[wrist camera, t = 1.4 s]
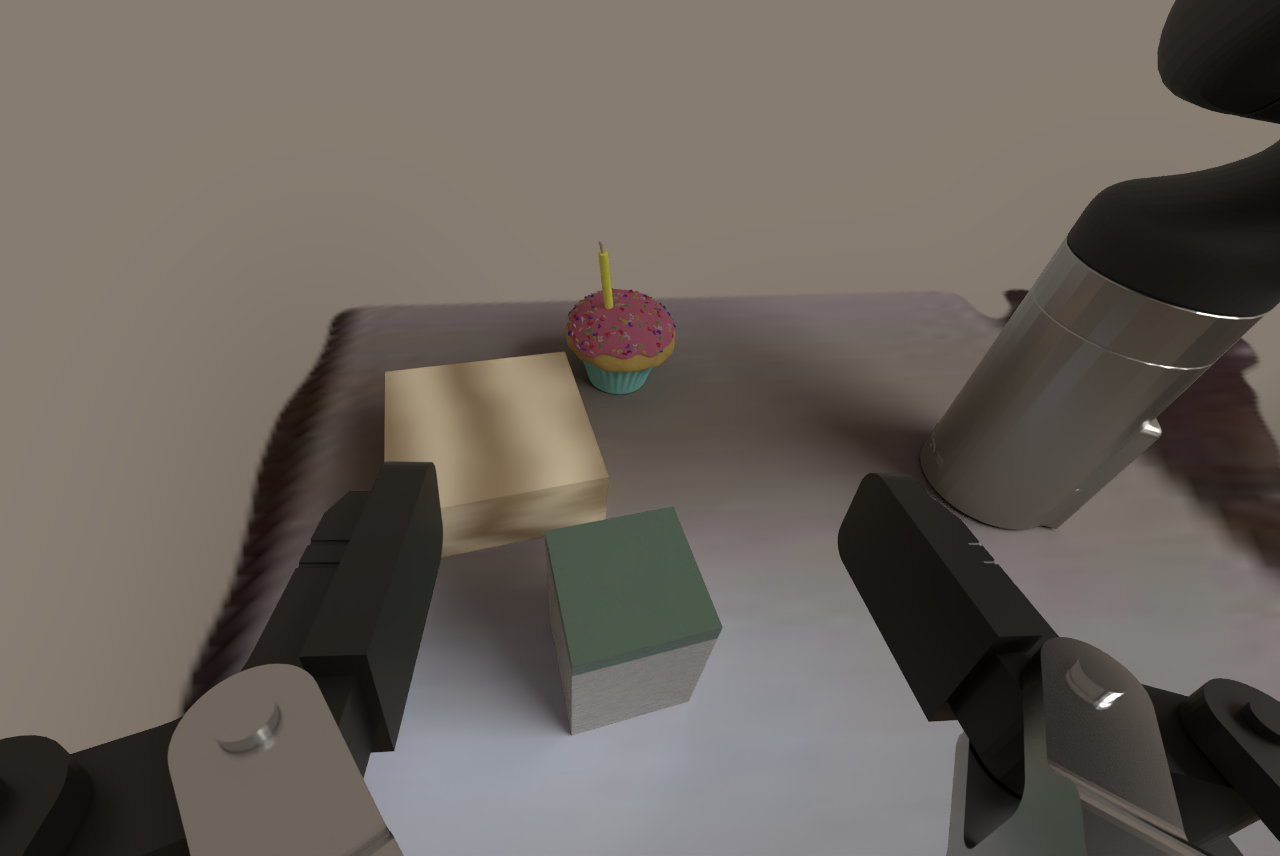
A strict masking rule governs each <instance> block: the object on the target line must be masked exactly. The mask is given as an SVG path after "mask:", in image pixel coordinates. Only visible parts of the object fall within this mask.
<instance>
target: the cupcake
mask: <svg viewBox="0 0 1280 856" xmlns="http://www.w3.org/2000/svg"><path fill="white" fill-rule="evenodd" d="M599 244H600V249H601V251H600V252H599V263H600V271H601V280H602V289H603V291H598V292H597V293H594V294H592V295H588V297H587V296H586V297H585V299H584V300H580V301H581V302H580V301H579V304H575V305H574V306H575V307H574V308H573V309H572V311H570V312H569V313H570V314H568V319H567V323H566V341H567V345H568V347H569V348H570V349H571V350H572V351H574V353H575V354H576V355H577V357H578V358H579V359H580V360H581V361H583V363H584V365H585V368H586V371H587V374H588V377H589V380H590V381H591V383H592V384H593V385H594V386H595V387H596V388H598V389H600V390H602V391H604V392H607V393H611V394H627V393H631V392H634V391H636V390H638V389H639V388H640V387H641V386H642V385H643V384H644V382H645V380H646V378H647V377H648V375H649V373H650V371H651V370H652V368H653V367H657V366H659V365H660V364H661V363H663V362H664V361H665V360H666V359H667V358H668V357H669V356H670V355H671V354H672V353H673V350H674V345H675V330H674V329H675V328H674V327H676V326H675V325H674V323H673V321H672V320H673V319H672V318H671V317H670V313H669V312H667V311H666V308H665V306H663V307H662V304H661V303H660V304H659V303H658V302H656V301H655V300H653V299H652V297H649V296H648V295H647V294H645V295H644V294H641V293H639V292H638V291H635V292H634V291H632V290H629V291H628V290H619V289H613V288H611V277H610V268H609V257H608V252H607V251H605V250H603V245H602V243H601V242H599Z"/></svg>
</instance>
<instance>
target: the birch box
mask: <svg viewBox="0 0 1280 856" xmlns="http://www.w3.org/2000/svg"><path fill="white" fill-rule="evenodd" d="M386 461H405V462H433V463H434V465H435V468H436V474H437V482H438V490H439V499H440V507H441V515H442V523H443V546H442V555H441V558H443V557H448V556H452V555H457V554H462V553H467V552H472V551H476V550H481V549H486V548H491V547H495V546H500V545H505V544H510V543H515V542H519V541H524V540H529V539H534V538H538V537H543V536H545V531H546V530H552V529H557V528H562V527H568V526H573V525H578V524H584V523H589V522H594V521H600V520H605V518H606V506H607V494H608V483H609V476H608V473H607V470H606V467H605V464H604V461H603V459H602V456H601V453H600V450H599V447H598V444H597V442H596V439H595V436H594V433H593V430H592V427H591V424H590V422H589V419H588V416H587V413H586V410H585V407H584V405H583V402H582V399H581V396H580V393H579V390H578V387H577V385H576V382H575V379H574V376H573V373H572V370H571V368H570V365H569V362H568V359H567V356H566V353H565V352H556V353H547V354H539V355H530V356H521V357H512V358H503V359H495V360H486V361H477V362H468V363H459V364H451V365H442V366H433V367H424V368H416V369H407V370H398V371H389V372H385V452H384V463H385V462H386Z"/></svg>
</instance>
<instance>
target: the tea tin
mask: <svg viewBox="0 0 1280 856" xmlns="http://www.w3.org/2000/svg"><path fill="white" fill-rule="evenodd" d="M545 541H546V559H547V577H548V595H549V613H550V622H551V628H552V633H553V638H554V644H555V649H556V655H557V660H558V665H559V671H560V676H561V682H562V687H563V692H564V698H565V703H566V709H567V714H568V719H569V725H570V730H571V736H572V735H575V734H579V733H582V732H586V731H589V730H592V729H596V728H599V727H603V726H606V725H610V724H613V723H616V722H620V721H623V720H627V719H630V718H634V717H637V716H640V715H644V714H647V713H651V712H654V711H658V710H661V709H664V708H668V707H671V706H675V705H678V704H682V703H685V702H688V701H689V700H690V698H691V695H692V693H693V691H694V689H695V687H696V684H697V682H698V680H699V678H700V676H701V673H702V671H703V669H704V667H705V665H706V663H707V660H708V658H709V656H710V654H711V652H712V649H713V647H714V645H715V643H716V641H717V638H718V636H719V634H720V632H721V630H722V625H721V622H720V620H719V618H718V615H717V613H716V610H715V608H714V605H713V603H712V600H711V598H710V595H709V593H708V591H707V588H706V586H705V583H704V581H703V578H702V576H701V573H700V571H699V568H698V566H697V563H696V561H695V559H694V556H693V554H692V551H691V549H690V546H689V544H688V541H687V539H686V536H685V534H684V532H683V529H682V527H681V524H680V522H679V519H678V517H677V514H676V512H675V509H674V507H669V508H663V509H658V510H653V511H647V512H642V513H637V514H631V515H626V516H621V517H616V518H610V519H605V520H600V521H594V522H589V523H584V524H578V525H573V526H568V527H562V528H557V529H552V530H546V531H545Z"/></svg>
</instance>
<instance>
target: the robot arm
mask: <svg viewBox="0 0 1280 856" xmlns="http://www.w3.org/2000/svg"><path fill="white" fill-rule="evenodd" d="M1158 70H1159V73H1160V76H1161V78H1162V82H1163V83H1164V85H1165V86H1166V87H1167V88H1168V89H1169V90H1170V91H1171V92H1172V93H1173V94H1174V95H1176V96H1178V97H1179V98H1181V99H1183V100H1185V101H1188V102H1190V103H1193V104H1195V105H1198V106H1200V107H1202V108H1205V109H1208V110H1211V111H1215V112H1219V113H1224V114H1232V115H1237V116H1240V117H1245V118H1251V119H1256V120H1262V121H1267V122H1272V123H1278V124H1280V0H1176V1H1175V3H1174V5H1173V6H1172V8H1171V11H1170V13H1169V15H1168V17H1167V20H1166V22H1165V25H1164V28H1163V30H1162V34H1161V38H1160V43H1159V47H1158ZM1279 302H1280V140H1279V141H1277V142H1276V143H1275V144H1273V145H1272V146H1270V147H1268V148H1267V149H1265V150H1263V151H1262V152H1259V153H1257V154H1255V155H1252V156H1250V157H1248V158H1244V159H1241V160H1239V161H1236V162H1233V163H1229V164H1226V165H1223V166H1219V167H1215V168H1211V169H1206V170H1202V171H1197V172H1192V173H1186V174H1179V175H1171V176H1161V177H1152V178H1142V179H1133V180H1128V181H1124V182H1120V183H1117V184H1114V185H1112V186H1110V187H1107V188H1106V189H1104V190H1103V191H1101V192H1100V193H1099V194H1098V195H1097V196H1096V197H1095V198H1094V199H1093V200H1092V201H1091V202H1090V203H1089V205H1088V206H1087V207H1086V208H1085V210H1084V211H1083V213H1082V214H1081V216H1080V217H1079V219H1078V220H1077V222H1076V223H1075V225H1074V226H1073V227H1072V229H1071V230H1070V232H1069V233H1068V236H1067V237H1066V238H1065V239H1064V241H1063V242H1062V244H1061V245H1060V247H1059V248H1058V250H1057V251H1056V253H1055V254H1054V255H1053V257H1052V258H1051V260H1050V261H1049V263H1048V264H1047V266H1046V267H1045V269H1044V270H1043V272H1042V273H1041V275H1040V276H1039V277H1038V279H1037V280H1036V282H1035V283H1034V285H1033V286H1032V288H1031V289H1030V291H1029V292H1028V294H1027V295H1026V297H1025V298H1024V299H1023V301H1022V302H1021V304H1020V305H1019V307H1018V308H1017V310H1016V311H1015V313H1014V314H1013V315H1012V317H1011V318H1010V320H1009V321H1008V323H1007V324H1006V326H1005V327H1004V329H1003V330H1002V332H1001V333H1000V334H999V336H998V337H997V339H996V340H995V342H994V343H993V345H992V346H991V348H990V349H989V350H988V352H987V353H986V355H985V356H984V358H983V359H982V361H981V362H980V364H979V365H978V366H977V368H976V369H975V371H974V372H973V374H972V375H971V377H970V378H969V380H968V381H967V383H966V384H965V385H964V387H963V388H962V390H961V391H960V393H959V394H958V396H957V397H956V399H955V400H954V401H953V403H952V404H951V406H950V407H949V409H948V410H947V412H946V413H945V415H944V416H943V418H942V419H941V420H940V422H939V423H938V424H937V425H936V427H935V428H934V430H933V431H932V433H931V435H930V437H929V438H928V439H927V441H926V442H925V444H924V446H923V448H922V450H921V455H920V461H921V466H922V470H923V472H924V474H925V476H926V478H927V480H928V481H929V482H930V484H931V485H932V486H933V488H934V489H935V490H936V491H937V492H938V493H939V494H940V495H941V496H942V497H943V498H944V499H945V500H946V501H947V502H949V503H950V504H951V505H953V506H954V507H955V508H957V509H958V510H960V511H962V512H963V513H965V514H967V515H968V516H970V517H972V518H974V519H977V520H979V521H981V522H983V523H986V524H989V525H993V526H996V527H999V528H1006V529H1013V530H1019V529H1029V528H1033V527H1036V526H1041V525H1042V526H1048V527H1051V528H1055V529H1057V528H1058V527H1060V526H1061V525H1062V524H1063V523H1064V522H1065V521H1066V520H1067V519H1069V518H1070V517H1071V516H1072V515H1073V514H1074V513H1075V512H1076V511H1078V510H1079V509H1080V508H1081V507H1082V506H1083V505H1084V504H1085V503H1087V502H1088V501H1089V500H1090V499H1091V498H1092V497H1093V496H1094V495H1096V494H1097V493H1098V492H1099V491H1100V490H1101V489H1102V488H1103V487H1104V486H1106V485H1107V484H1108V483H1109V482H1110V481H1111V480H1112V479H1113V478H1115V477H1116V476H1117V475H1118V474H1119V473H1120V472H1121V471H1122V470H1124V469H1125V468H1126V467H1127V466H1128V465H1129V464H1130V463H1131V462H1133V461H1134V460H1135V459H1136V458H1137V457H1138V456H1139V455H1140V454H1142V453H1143V452H1144V451H1145V450H1146V449H1147V448H1148V447H1149V446H1150V445H1152V444H1153V443H1154V442H1155V441H1156V440H1157V439H1158V438H1159V437H1160V435H1161V428H1160V425H1159V424H1158V422H1157V420H1156V417H1157V416H1158V415H1159V414H1160V413H1161V412H1162V411H1163V410H1164V409H1166V408H1167V407H1168V406H1169V405H1170V404H1171V403H1172V402H1173V401H1174V400H1175V399H1176V398H1177V397H1178V396H1179V395H1180V394H1181V393H1183V392H1184V391H1185V390H1186V389H1187V388H1188V387H1189V386H1190V385H1191V384H1192V383H1193V382H1194V381H1195V380H1196V379H1197V378H1198V377H1200V376H1201V375H1202V374H1203V373H1204V372H1205V371H1206V370H1207V369H1208V368H1209V367H1210V366H1211V365H1212V364H1213V363H1214V362H1215V361H1216V360H1217V359H1218V358H1219V357H1221V356H1222V355H1223V354H1224V353H1225V352H1226V351H1227V350H1228V349H1229V348H1230V347H1231V346H1232V345H1233V344H1235V343H1236V342H1237V341H1238V340H1239V339H1240V338H1241V337H1242V336H1243V335H1244V334H1245V333H1246V332H1247V331H1248V330H1249V329H1251V328H1252V327H1253V326H1254V325H1255V324H1256V323H1257V322H1258V321H1259V320H1260V319H1261V318H1262V317H1263V316H1264V315H1266V314H1267V313H1268V312H1269V311H1271V310H1272V309H1273V308H1274V307H1275V306H1276V305H1277V304H1278V303H1279ZM442 546H443V523H442V515H441V507H440V499H439V490H438V482H437V474H436V468H435V465H434V463H433V462H405V461H386V462H385V463H384V464H383V466H382V468H381V470H380V473H379V475H378V477H377V479H376V482H375V484H374V486H373V489H372V491H371V492H368V491H349V492H348V493H347V494H346V495H345V496H344V497H343V498H341V499H340V500H339V501H338V502H337V503H336V504H335V505H333V506H332V507H331V508H330V509H329V510H328V511H327V512H325V513H324V515H323V517H322V519H321V521H320V523H319V525H318V527H317V529H316V531H315V533H314V534H313V536H312V538H311V544H310V545H308V546H307V548H306V550H305V552H304V554H303V556H302V558H301V560H300V561H299V568H296V569H295V571H294V573H293V575H292V577H291V579H290V581H289V583H288V585H287V587H286V589H285V590H284V592H283V594H282V596H281V598H280V600H279V602H278V604H277V606H276V608H275V610H274V612H273V614H272V616H271V617H270V619H269V621H268V623H267V625H266V627H265V629H264V631H263V633H262V635H261V637H260V639H259V641H258V643H257V645H256V646H255V648H254V650H253V652H252V654H251V656H250V658H249V659H248V661H247V663H246V664H245V666H244V667H243V669H242V670H241V671H240V673H237V674H235V675H233V676H231V677H229V678H227V679H226V680H224V681H222V682H220V683H219V684H217V685H216V686H214V687H213V688H212V689H210V690H209V691H208V692H206V693H205V694H204V695H203V696H202V697H201V698H200V699H198V700H197V701H196V702H195V703H194V705H193V706H192V707H191V708H190V709H189V710H188V711H187V712H186V714H185V715H184V716H182V717H180V718H178V719H176V720H174V721H172V722H169V723H166V724H164V725H161V726H158V727H155V728H152V729H149V730H146V731H143V732H140V733H136V734H133V735H130V736H127V737H124V738H121V739H117V740H114V741H111V742H108V743H105V744H101V745H98V746H95V747H92V748H89V749H86V750H83V751H79V752H76V753H73V754H69V753H68V752H67V751H66V750H65V749H64V748H63V747H62V746H61V745H60V744H58V743H57V742H56V741H54V740H52V739H49V738H47V737H42V736H35V735H33V736H32V735H30V736H17V737H10V738H5V739H2V740H0V856H403V854H402V852H401V850H400V848H399V846H398V844H397V842H396V840H395V838H394V837H393V835H392V833H391V832H390V831H389V830H388V828H387V826H386V824H385V822H384V821H383V819H382V817H381V815H380V813H379V810H378V808H377V806H376V804H375V802H374V800H373V798H372V796H371V794H370V792H369V790H368V788H367V786H366V784H365V782H364V779H363V778H364V774H365V771H366V767H367V764H368V760H369V756H370V753H371V752H387V751H394V750H395V745H396V741H397V737H398V733H399V729H400V725H401V721H402V717H403V713H404V709H405V704H406V700H407V696H408V692H409V688H410V684H411V680H412V676H413V672H414V667H415V663H416V659H417V655H418V651H419V647H420V643H421V639H422V635H423V631H424V626H425V622H426V618H427V614H428V610H429V606H430V602H431V598H432V594H433V589H434V585H435V581H436V577H437V573H438V569H439V565H440V560H441V555H442ZM838 550H839V554H840V557H841V560H842V562H843V564H844V566H845V567H846V569H847V571H848V573H849V575H850V577H851V578H852V580H853V582H854V584H855V586H856V588H857V590H858V591H859V593H860V595H861V597H862V599H863V601H864V603H865V604H866V606H867V608H868V610H869V612H870V614H871V616H872V617H873V619H874V621H875V623H876V625H877V627H878V629H879V630H880V632H881V634H882V636H883V638H884V640H885V642H886V643H887V645H888V647H889V649H890V651H891V653H892V654H893V656H894V658H895V660H896V662H897V664H898V666H899V667H900V669H901V671H902V673H903V675H904V677H905V679H906V680H907V682H908V684H909V686H910V688H911V690H912V692H913V693H914V695H915V697H916V699H917V701H918V703H919V705H920V706H921V708H922V710H923V712H924V714H925V716H926V718H927V719H928V721H929V722H932V721H948V720H958V721H959V723H960V725H961V726H962V728H963V730H964V732H963V733H962V734H961V735H960V736H959V738H958V740H957V744H956V752H955V765H954V777H953V790H952V802H951V814H950V827H949V839H948V849H947V855H946V856H1243V855H1242V853H1241V852H1240V851H1239V849H1238V848H1237V847H1236V846H1235V844H1234V843H1233V842H1232V841H1231V839H1230V838H1229V837H1228V836H1230V835H1232V834H1234V833H1236V832H1237V831H1239V830H1241V829H1243V828H1245V827H1247V826H1249V825H1251V824H1252V823H1254V822H1256V821H1258V820H1260V819H1261V820H1262V822H1263V823H1264V824H1265V825H1266V826H1267V827H1268V829H1269V830H1270V831H1271V832H1272V833H1273V834H1274V836H1275V837H1276V838H1277V839H1278V840H1279V841H1280V702H1279V701H1277V700H1275V699H1274V698H1272V697H1270V696H1269V695H1267V694H1265V693H1263V692H1261V691H1259V690H1258V689H1255V688H1253V687H1251V686H1249V685H1246V684H1243V683H1240V682H1238V681H1234V680H1230V679H1222V678H1218V679H1212V680H1210V681H1208V682H1207V683H1205V684H1204V685H1203V686H1202V687H1200V688H1199V689H1198V690H1196V691H1195V692H1194V693H1193V694H1191V695H1190V696H1189V697H1188V696H1184V695H1181V694H1177V693H1173V692H1169V691H1165V690H1162V689H1158V688H1154V687H1150V686H1147V685H1143V684H1141V683H1140V682H1139V681H1138V680H1137V679H1136V678H1135V676H1134V675H1133V674H1131V673H1130V672H1129V671H1128V670H1127V669H1126V668H1125V667H1124V666H1123V665H1121V664H1120V663H1119V662H1118V661H1116V660H1115V659H1114V658H1112V657H1111V656H1109V655H1108V654H1106V653H1105V652H1103V651H1101V650H1100V649H1098V648H1096V647H1094V646H1092V645H1090V644H1087V643H1085V642H1082V641H1079V640H1076V639H1072V638H1066V637H1059V636H1058V635H1057V634H1056V633H1055V631H1054V630H1053V629H1052V628H1051V627H1050V625H1049V624H1048V623H1047V622H1046V621H1045V619H1044V618H1043V617H1042V616H1041V615H1040V614H1039V612H1038V611H1037V610H1036V609H1035V608H1034V606H1033V605H1032V604H1031V603H1030V602H1029V600H1028V599H1027V598H1026V597H1025V596H1024V594H1023V593H1022V592H1021V591H1020V590H1019V588H1018V587H1017V586H1016V585H1015V584H1014V583H1013V581H1012V580H1011V579H1010V578H1009V577H1008V575H1007V574H1006V573H1005V572H1004V571H1003V569H1002V568H1001V567H1000V566H999V565H998V564H994V559H993V557H992V556H991V555H990V554H989V553H988V552H987V550H986V549H985V548H984V547H983V546H979V541H978V540H977V538H976V537H975V536H974V535H973V534H972V532H971V531H970V530H969V529H968V528H967V526H966V525H965V524H964V523H963V522H962V520H961V519H959V518H958V517H957V516H955V515H954V514H953V513H951V512H950V511H949V510H947V509H946V508H945V507H943V506H942V505H941V504H939V503H938V502H937V501H935V500H933V499H932V498H931V497H930V496H929V494H928V493H927V492H926V491H925V489H924V488H923V487H922V486H921V485H920V483H919V482H918V481H917V480H916V479H915V478H914V477H913V476H912V475H909V474H897V473H869V474H867V475H866V476H865V477H864V478H863V479H862V481H861V483H860V485H859V487H858V490H857V492H856V494H855V496H854V498H853V500H852V503H851V505H850V507H849V509H848V511H847V514H846V516H845V518H844V520H843V522H842V524H841V527H840V529H839V533H838Z"/></svg>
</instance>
